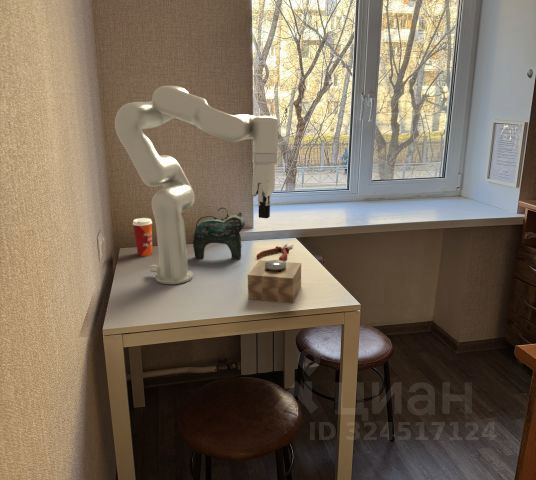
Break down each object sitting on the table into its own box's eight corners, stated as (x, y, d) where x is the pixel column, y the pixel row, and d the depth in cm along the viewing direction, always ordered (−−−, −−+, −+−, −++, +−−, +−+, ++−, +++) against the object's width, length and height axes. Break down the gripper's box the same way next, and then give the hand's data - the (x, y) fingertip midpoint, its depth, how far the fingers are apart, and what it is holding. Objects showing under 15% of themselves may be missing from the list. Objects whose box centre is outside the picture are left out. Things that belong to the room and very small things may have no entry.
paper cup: (150, 257, 192) (147, 222, 188) (132, 256, 193) (128, 222, 189) (157, 251, 200) (155, 217, 196) (140, 250, 201) (137, 217, 197)
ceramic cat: (246, 256, 192) (244, 206, 187) (243, 261, 186) (242, 209, 180) (196, 255, 194) (193, 205, 189) (192, 260, 188) (189, 209, 182)
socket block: (248, 299, 152) (247, 274, 149) (259, 282, 165) (259, 260, 162) (292, 303, 148) (292, 278, 146) (301, 286, 161) (301, 263, 159)
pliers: (303, 249, 201) (303, 243, 200) (282, 264, 184) (282, 257, 183) (277, 246, 206) (277, 240, 205) (255, 260, 189) (255, 253, 188)
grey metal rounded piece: (263, 291, 154) (262, 266, 152) (268, 284, 161) (267, 259, 158) (283, 293, 153) (283, 267, 150) (287, 285, 159) (287, 260, 157)
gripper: (259, 154, 156) (259, 211, 161) (245, 161, 142) (245, 222, 147) (282, 155, 154) (281, 212, 159) (270, 162, 140) (269, 224, 145)
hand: (264, 217), depth 153 cm, fingers closed
